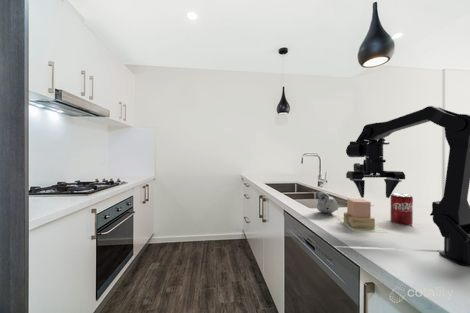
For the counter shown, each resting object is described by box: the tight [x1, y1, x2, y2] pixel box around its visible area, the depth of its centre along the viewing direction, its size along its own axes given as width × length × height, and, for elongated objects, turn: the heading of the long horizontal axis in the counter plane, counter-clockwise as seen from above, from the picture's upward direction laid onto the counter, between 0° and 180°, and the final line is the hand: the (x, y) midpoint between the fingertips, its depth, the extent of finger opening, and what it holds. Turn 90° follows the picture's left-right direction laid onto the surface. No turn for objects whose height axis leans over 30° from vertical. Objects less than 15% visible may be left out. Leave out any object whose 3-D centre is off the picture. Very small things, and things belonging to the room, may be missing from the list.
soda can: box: [389, 193, 414, 227], centre depth 87 cm, size 7×7×12 cm
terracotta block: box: [346, 198, 372, 218], centre depth 83 cm, size 6×6×6 cm
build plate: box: [336, 217, 388, 233], centre depth 84 cm, size 16×12×1 cm
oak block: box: [343, 211, 376, 229], centre depth 83 cm, size 8×8×4 cm
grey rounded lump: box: [316, 190, 339, 215], centre depth 98 cm, size 10×10×12 cm
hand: (374, 197), depth 79 cm, fingers open, 9 cm apart
